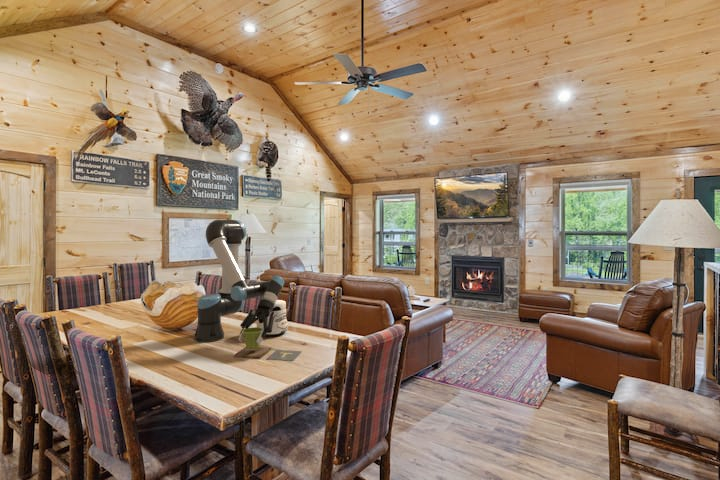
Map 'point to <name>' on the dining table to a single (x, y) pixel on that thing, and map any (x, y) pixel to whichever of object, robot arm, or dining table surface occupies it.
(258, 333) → the plant pot
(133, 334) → the dining table surface
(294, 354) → the slate mat
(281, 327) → the milk container
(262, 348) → the walnut board
